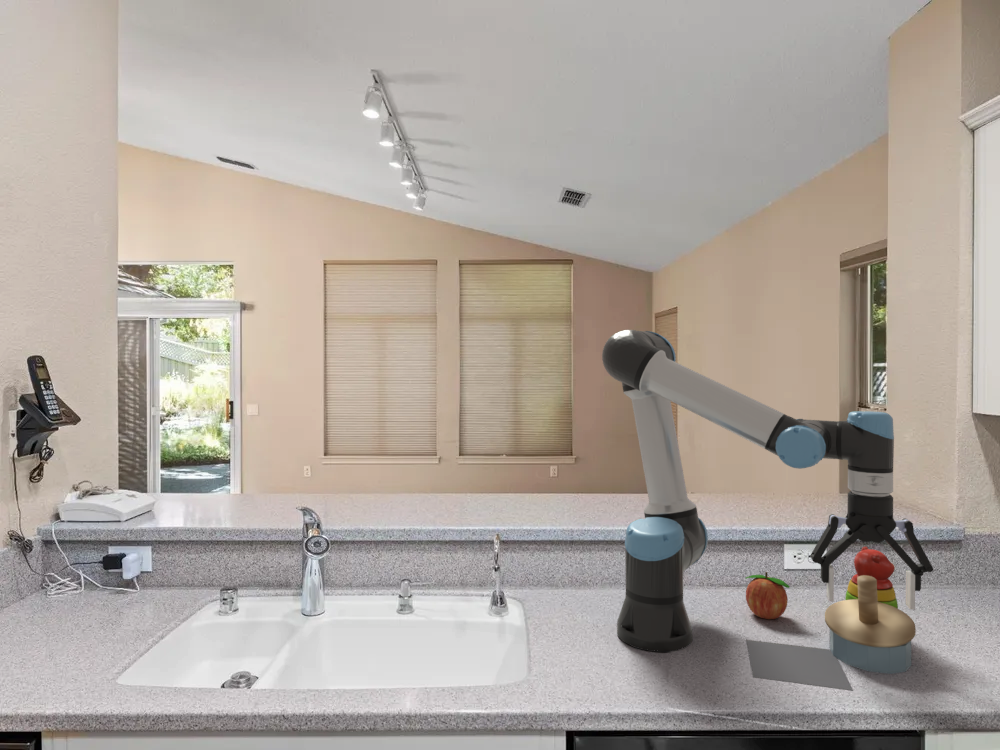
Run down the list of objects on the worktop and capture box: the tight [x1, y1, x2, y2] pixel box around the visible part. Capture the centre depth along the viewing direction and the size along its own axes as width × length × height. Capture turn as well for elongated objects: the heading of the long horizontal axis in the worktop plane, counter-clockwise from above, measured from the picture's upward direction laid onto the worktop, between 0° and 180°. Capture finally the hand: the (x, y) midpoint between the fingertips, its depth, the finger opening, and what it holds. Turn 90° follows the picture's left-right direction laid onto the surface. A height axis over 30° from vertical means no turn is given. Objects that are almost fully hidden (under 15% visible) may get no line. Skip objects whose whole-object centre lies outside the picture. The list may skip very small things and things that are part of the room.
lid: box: [824, 575, 917, 647], centre depth 119 cm, size 15×15×9 cm
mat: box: [745, 639, 854, 691], centre depth 117 cm, size 16×16×1 cm
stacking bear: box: [844, 546, 899, 609], centre depth 130 cm, size 11×10×18 cm
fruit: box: [745, 571, 791, 620], centre depth 140 cm, size 9×10×10 cm
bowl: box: [828, 628, 912, 675], centre depth 120 cm, size 13×13×5 cm
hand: (869, 603), depth 120 cm, fingers open, 13 cm apart
